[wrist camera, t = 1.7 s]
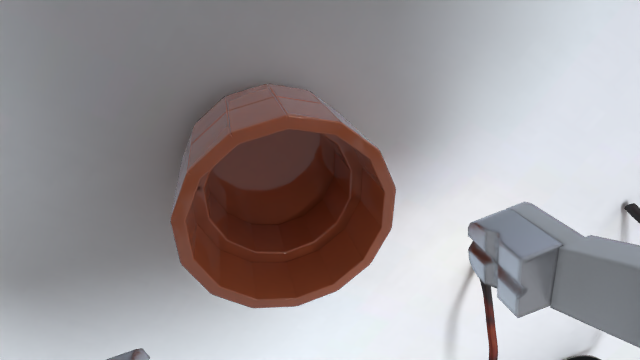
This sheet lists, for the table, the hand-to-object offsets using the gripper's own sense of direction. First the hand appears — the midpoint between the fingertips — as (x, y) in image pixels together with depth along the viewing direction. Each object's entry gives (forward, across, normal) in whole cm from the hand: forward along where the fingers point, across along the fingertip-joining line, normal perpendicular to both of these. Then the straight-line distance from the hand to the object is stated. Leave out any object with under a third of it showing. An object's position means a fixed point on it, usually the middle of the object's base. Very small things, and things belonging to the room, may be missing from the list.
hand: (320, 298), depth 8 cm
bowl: (+7, 0, 0) cm, 7 cm away
